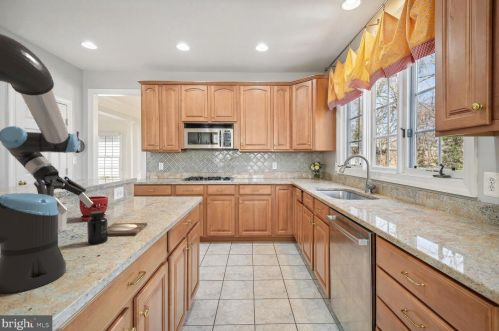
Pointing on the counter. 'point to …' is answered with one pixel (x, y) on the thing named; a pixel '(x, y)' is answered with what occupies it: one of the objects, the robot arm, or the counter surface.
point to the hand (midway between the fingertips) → (78, 208)
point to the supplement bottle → (97, 228)
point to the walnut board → (125, 229)
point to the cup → (62, 219)
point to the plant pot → (93, 206)
